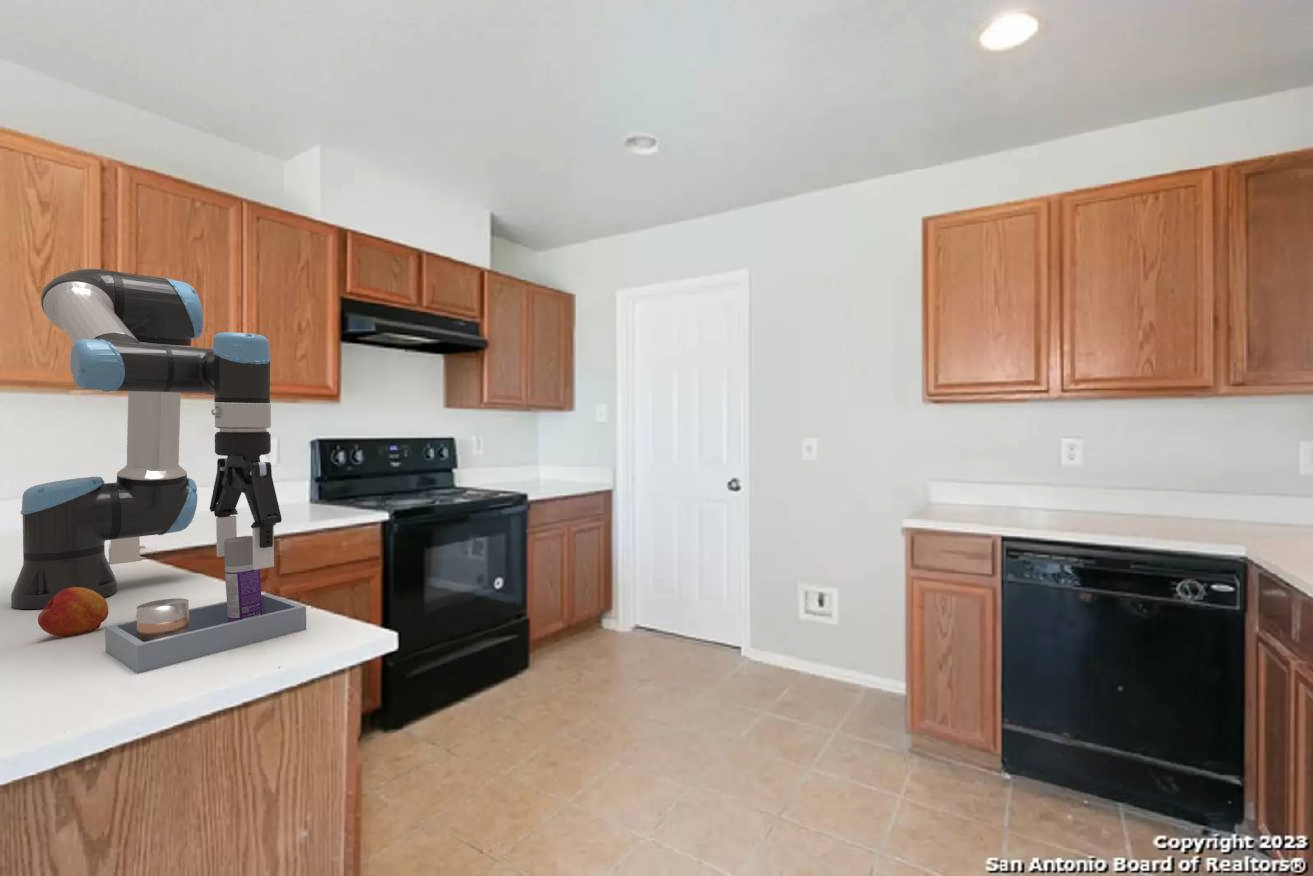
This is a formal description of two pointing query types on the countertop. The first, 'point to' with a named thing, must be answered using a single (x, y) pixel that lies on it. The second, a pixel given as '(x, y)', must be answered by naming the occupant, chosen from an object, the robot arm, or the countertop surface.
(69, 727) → the countertop surface
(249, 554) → the container
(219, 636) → the tray
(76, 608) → the fruit
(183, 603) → the tin
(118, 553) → the architectural model
